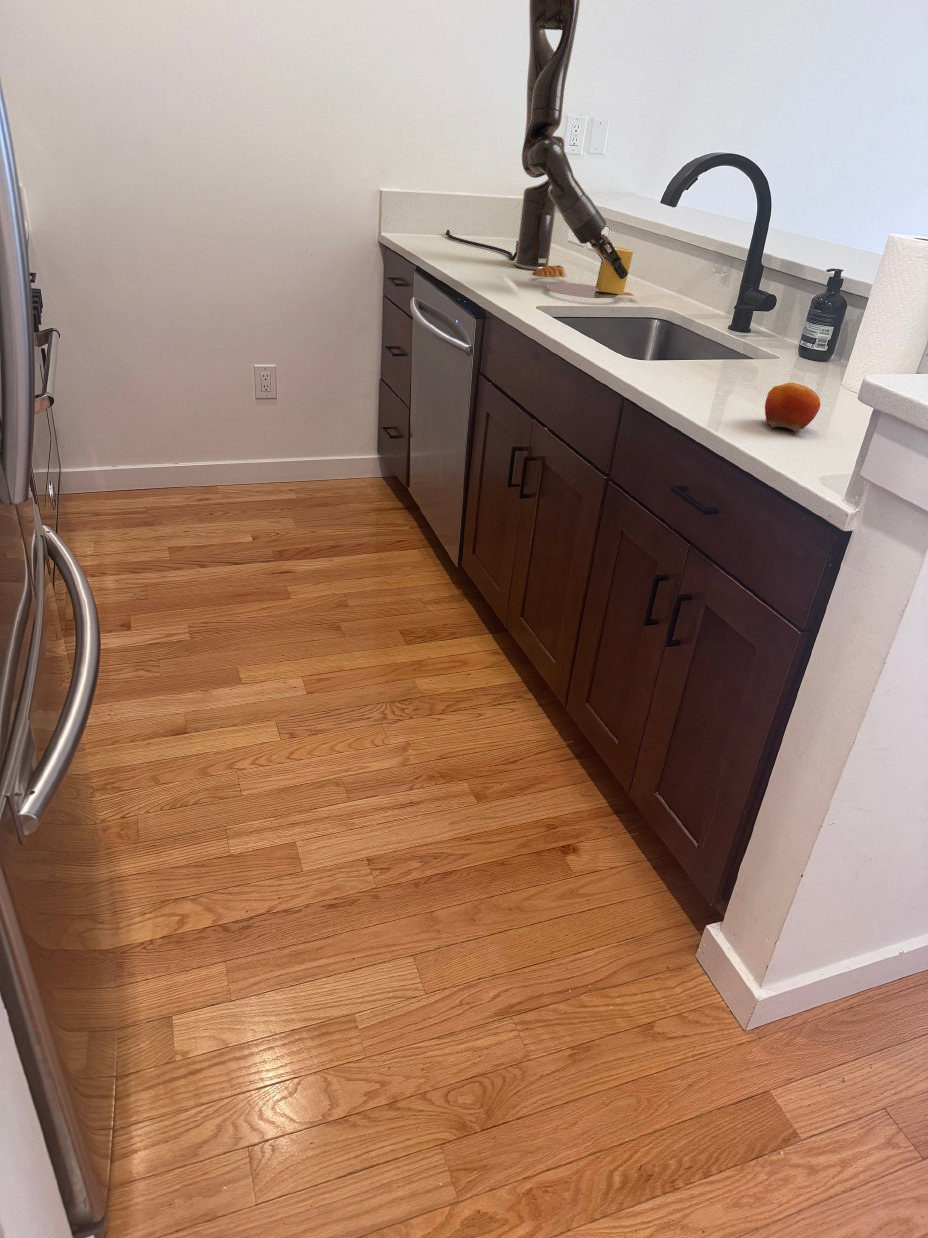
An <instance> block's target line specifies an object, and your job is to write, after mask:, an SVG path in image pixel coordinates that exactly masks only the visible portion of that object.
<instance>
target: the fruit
mask: <svg viewBox="0 0 928 1238" xmlns="http://www.w3.org/2000/svg"><path fill="white" fill-rule="evenodd" d="M820 407H821V398H820V396H819V395H818V394H817V392H816V391H815V390H813V389H812V388H810V387H809V386H807V385H804V384H800V383H797V382H786V383H783V384H780V385H774V387H772V388H771V389H770V390H769V391H768V392H767V396H766V399H765V403H764V415H765V421H766V423H767V424H768V425H770V426H771V429H773V428H786V429H789V430H792V431H793V432H794V433H795V435H796V436H798V431H799V430H804V428H806V427H808V425H810V424H811V422H812V421H813V420H814V419H815V418H816V416H817V415H818V413H819V411H820Z"/></svg>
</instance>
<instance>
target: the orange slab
mask: <svg viewBox="0 0 928 1238" xmlns="http://www.w3.org/2000/svg"><path fill="white" fill-rule="evenodd" d="M622 296H630V297H633V296H634V297H635V295H634V294H632V293H631V292H628V291H627V292H625V291H624V293H623V295H622Z"/></svg>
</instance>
